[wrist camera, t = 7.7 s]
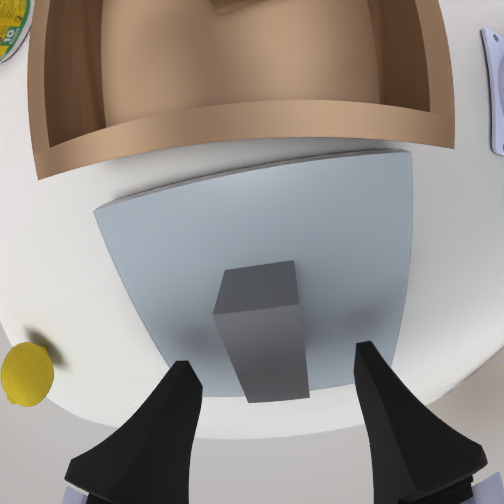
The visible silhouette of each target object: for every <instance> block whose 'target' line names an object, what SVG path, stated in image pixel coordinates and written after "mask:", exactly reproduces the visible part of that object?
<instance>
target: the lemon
mask: <svg viewBox="0 0 504 504" xmlns="http://www.w3.org/2000/svg"><path fill="white" fill-rule="evenodd" d="M0 377H1V383H2V386H3V389H4V391H5V393H6V395H7V399H8V401H9V402H10V403H12V404H18V405H21V406H25V407H30V406H34V405H37V404H38V403H40V402H41V401H42V400H43V399H44V398H45V396H46V395H47V394H48V392H49V390H50V388H51V386H52V383H53V380H54V368H53V364H52V361H51V359H50V357H49V356H48V351H47V348H46V347H45V346H43V345H40V346H38V345H36V344H34V343H30V342H24V343H20V344H18V345H16V346H14V347H13V348H12V349H11V350H10V351H9V353H8V354H7V356H6V358H5V359H4V362H3V365H2V368H1V374H0Z"/></svg>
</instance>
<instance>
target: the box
mask: <svg viewBox="0 0 504 504" xmlns="http://www.w3.org/2000/svg"><path fill="white" fill-rule="evenodd" d="M27 88H28V111H29V124H30V133H31V141H32V149H33V155H34V161H35V167H36V172H37V177H38V180H41V179H44V178H47V177H50V176H53V175H56V174H59V173H63V172H66V171H69V170H73V169H76V168H80V167H84V166H87V165H91V164H95V163H99V162H103V161H107V160H111V159H116V158H120V157H125V156H129V155H134V154H139V153H145V152H150V151H155V150H161V149H167V148H174V147H180V146H187V145H195V144H203V143H211V142H220V141H231V140H243V139H257V138H278V137H346V138H366V139H380V140H391V141H401V142H410V143H418V144H425V145H432V146H439V147H445V148H451V149H454V139H455V110H454V89H453V77H452V68H451V60H450V53H449V47H448V41H447V36H446V31H445V26H444V22H443V17H442V13H441V9H440V6H439V2H438V0H268V1H263V2H259V3H255V4H252V5H248V6H245V7H241V8H238V9H235V10H231V11H228V12H225V13H222V14H219V15H217V13H216V11H215V9H214V8H213V6H212V4H211V2H210V1H209V0H35V5H34V10H33V16H32V22H31V30H30V39H29V51H28V74H27Z"/></svg>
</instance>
